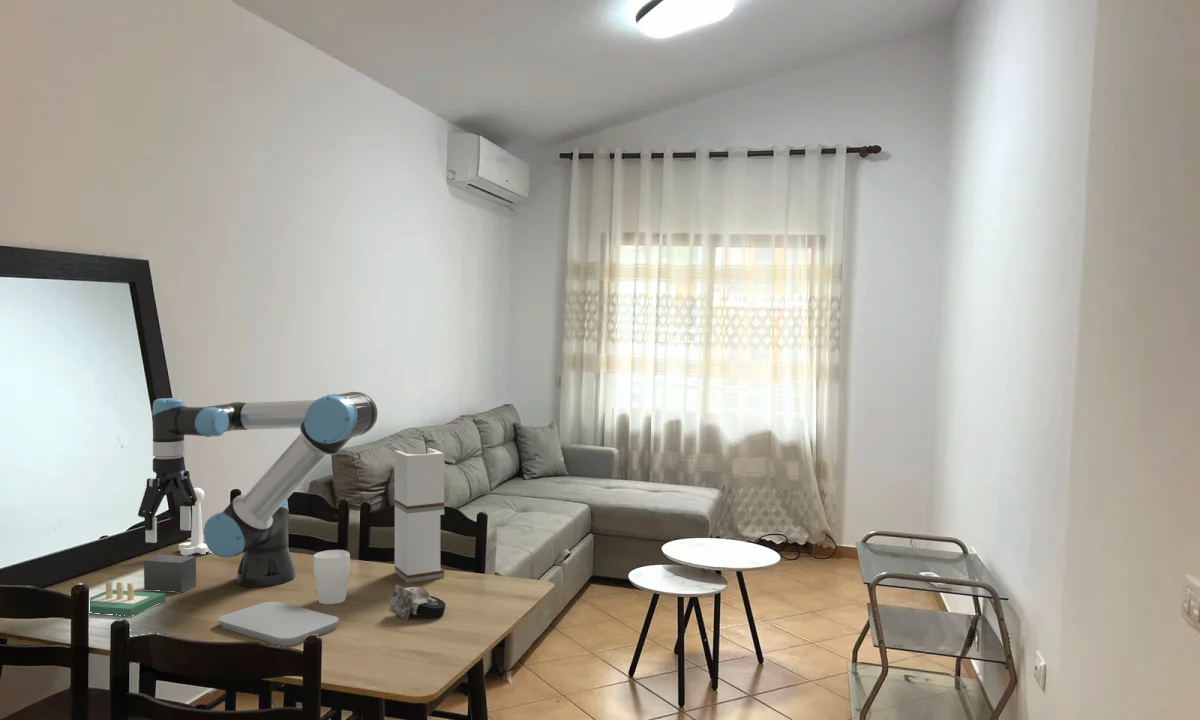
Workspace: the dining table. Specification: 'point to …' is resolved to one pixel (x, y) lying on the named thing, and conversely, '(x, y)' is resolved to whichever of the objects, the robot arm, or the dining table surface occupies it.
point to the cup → (331, 575)
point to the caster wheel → (415, 603)
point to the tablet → (278, 622)
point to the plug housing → (170, 573)
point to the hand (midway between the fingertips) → (168, 536)
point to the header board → (123, 600)
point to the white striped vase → (418, 515)
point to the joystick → (195, 530)
